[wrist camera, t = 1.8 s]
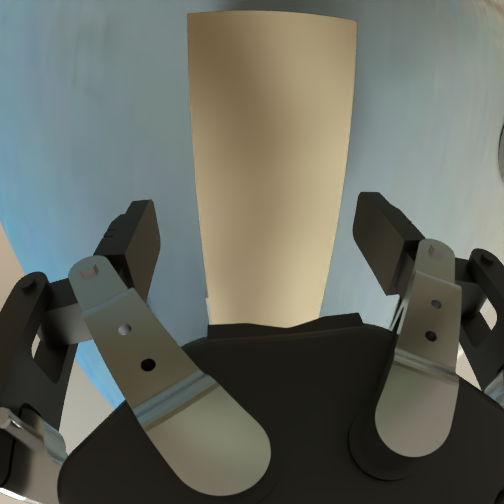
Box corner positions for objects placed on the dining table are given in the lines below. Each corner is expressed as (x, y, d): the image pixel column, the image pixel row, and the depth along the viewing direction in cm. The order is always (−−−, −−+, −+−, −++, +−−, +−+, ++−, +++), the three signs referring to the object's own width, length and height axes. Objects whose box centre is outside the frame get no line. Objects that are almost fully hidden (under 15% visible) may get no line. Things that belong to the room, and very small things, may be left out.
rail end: (298, 38, 14) (356, 21, 7) (287, 246, 22) (311, 344, 15) (210, 37, 14) (187, 13, 6) (220, 248, 22) (216, 349, 15)
